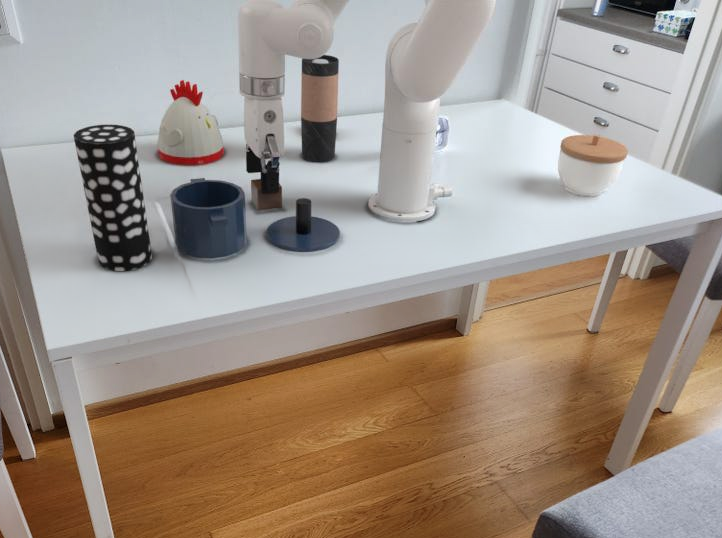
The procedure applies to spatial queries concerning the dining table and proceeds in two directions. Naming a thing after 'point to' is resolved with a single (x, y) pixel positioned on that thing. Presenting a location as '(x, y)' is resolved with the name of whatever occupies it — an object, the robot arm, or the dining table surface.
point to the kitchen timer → (189, 130)
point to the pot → (209, 218)
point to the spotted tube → (114, 196)
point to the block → (265, 197)
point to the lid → (303, 230)
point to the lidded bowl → (590, 163)
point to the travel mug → (319, 108)
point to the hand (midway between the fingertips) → (262, 182)
